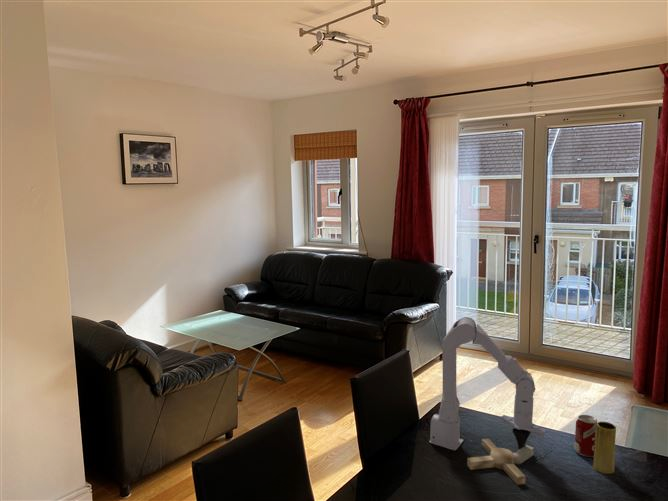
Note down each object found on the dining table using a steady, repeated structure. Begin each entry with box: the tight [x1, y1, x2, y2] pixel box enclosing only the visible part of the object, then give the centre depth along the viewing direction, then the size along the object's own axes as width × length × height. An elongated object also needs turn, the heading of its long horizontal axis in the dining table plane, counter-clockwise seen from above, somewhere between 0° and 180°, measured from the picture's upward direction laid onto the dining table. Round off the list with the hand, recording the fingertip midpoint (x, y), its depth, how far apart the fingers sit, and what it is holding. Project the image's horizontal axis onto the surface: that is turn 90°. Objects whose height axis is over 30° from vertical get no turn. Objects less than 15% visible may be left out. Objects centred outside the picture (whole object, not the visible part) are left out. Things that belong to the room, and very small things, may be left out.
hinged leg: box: [512, 444, 535, 465], centre depth 160 cm, size 9×2×3 cm, turn 130°
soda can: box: [573, 414, 598, 458], centre depth 163 cm, size 7×7×12 cm
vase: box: [592, 421, 617, 475], centre depth 154 cm, size 6×6×14 cm
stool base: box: [466, 438, 526, 486], centre depth 157 cm, size 15×22×4 cm, turn 10°
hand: (521, 449), depth 164 cm, fingers closed
